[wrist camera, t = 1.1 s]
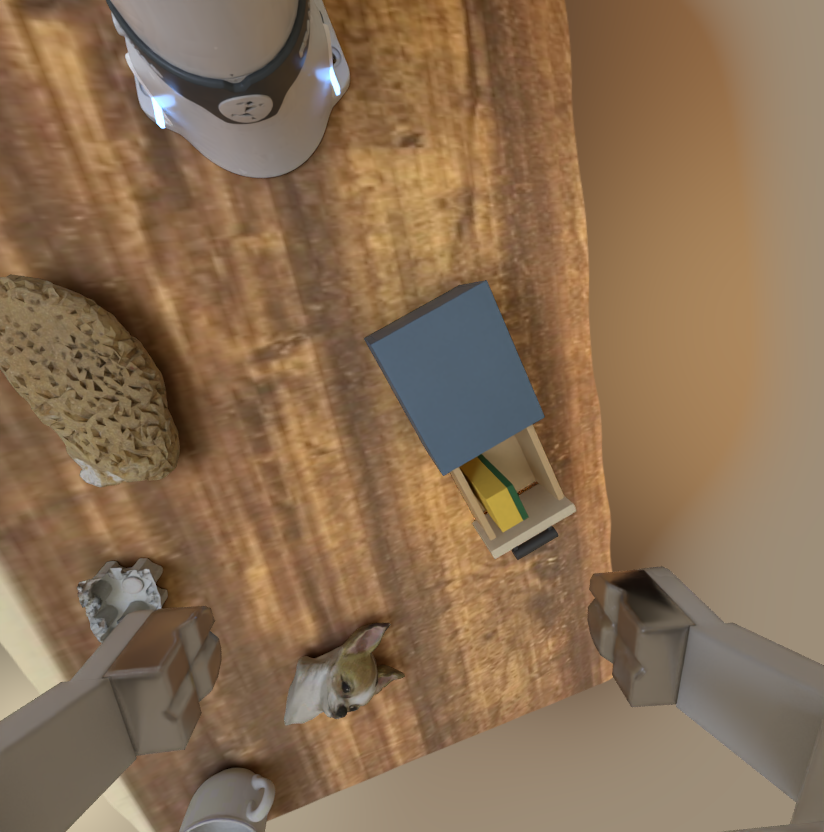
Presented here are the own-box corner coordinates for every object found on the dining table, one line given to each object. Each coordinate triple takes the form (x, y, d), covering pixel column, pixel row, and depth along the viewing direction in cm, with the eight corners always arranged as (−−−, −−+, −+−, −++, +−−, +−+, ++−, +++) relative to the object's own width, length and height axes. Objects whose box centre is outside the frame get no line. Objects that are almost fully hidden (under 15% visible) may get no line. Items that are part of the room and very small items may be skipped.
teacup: (223, 822, 59) (207, 899, 51) (174, 783, 55) (149, 859, 48) (305, 771, 59) (301, 839, 52) (262, 729, 56) (251, 796, 48)
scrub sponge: (459, 466, 49) (485, 500, 40) (481, 453, 49) (512, 484, 40) (474, 494, 50) (503, 533, 42) (495, 482, 50) (529, 517, 42)
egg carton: (94, 558, 45) (72, 582, 41) (167, 554, 47) (152, 576, 43) (107, 637, 48) (87, 665, 44) (176, 630, 49) (162, 658, 45)
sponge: (205, 448, 46) (140, 263, 36) (169, 492, 39) (77, 276, 29) (91, 455, 46) (-3, 272, 36) (36, 499, 39) (-99, 287, 29)
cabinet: (511, 399, 50) (545, 417, 42) (425, 449, 49) (443, 476, 41) (459, 285, 45) (486, 279, 37) (363, 338, 45) (370, 344, 37)
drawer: (558, 510, 55) (588, 537, 48) (488, 552, 54) (508, 584, 48) (506, 395, 49) (532, 408, 42) (426, 441, 48) (441, 461, 42)
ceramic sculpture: (269, 705, 44) (398, 655, 47) (275, 643, 52) (385, 604, 55) (296, 769, 47) (416, 719, 50) (298, 701, 55) (401, 661, 58)
